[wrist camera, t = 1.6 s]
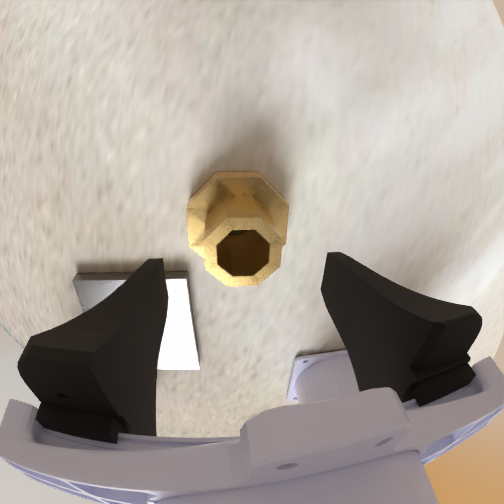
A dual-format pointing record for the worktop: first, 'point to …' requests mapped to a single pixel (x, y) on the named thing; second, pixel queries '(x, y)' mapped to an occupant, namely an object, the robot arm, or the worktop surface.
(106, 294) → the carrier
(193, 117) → the worktop surface
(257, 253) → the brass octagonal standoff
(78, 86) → the worktop surface
